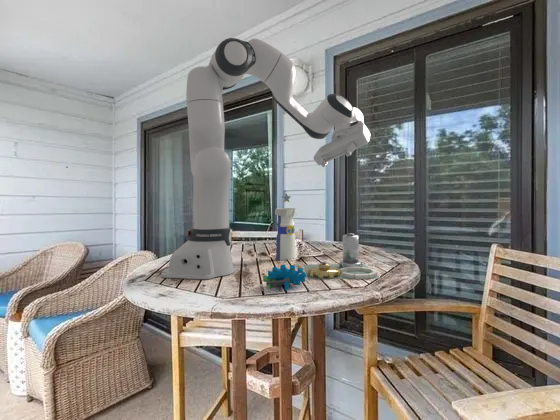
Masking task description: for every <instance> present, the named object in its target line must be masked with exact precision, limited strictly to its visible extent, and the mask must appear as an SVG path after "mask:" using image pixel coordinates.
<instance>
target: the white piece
mask: <svg viewBox="0 0 560 420" xmlns="http://www.w3.org/2000/svg"><path fill="white" fill-rule="evenodd" d="M281 198H283V203H286V202H288V203H290V200H289V199H290V198H292V196H290V195H288V194H287V193H285V195H282V196H281ZM297 214H298V213H297V208H294V207H283V208H282V207H280V208H279V207H277V208H275V210H274V215H276V216H277V223H276V224H275V225H276V226H277V227H276V228H277V229H276V230H277V232H276V233H277V234H276V237H275V238H276V239H275V242H276V244H275V245H276V247H275V248H276V249H275V250H276V251H275V261H277V262H287V261H288V260H290V259H295V258H296V257H297V251H296V249H297V246H296V234H295V225H296V223H295V222H294V218H296V217H297Z"/></svg>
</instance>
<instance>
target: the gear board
mask: <svg viewBox="0 0 560 420" xmlns="http://www.w3.org/2000/svg"><path fill="white" fill-rule="evenodd" d="M319 264H320V263H318V264H303V266H304V270H305V273H306V276H307V277H306V278H307V279H308V280H356V279H355V278H353V279H352V278H347V277H343V276H342V273H341V275H340V277H334V278H323V279H322V278H317V277H310V275H308V274H307V269H309V268H310V267H315V266H319ZM329 264H330V263H329ZM330 267H337V268H338V269H341V268H342V267H339V263H337V264H336V263H334V264H333V263H331V264H330ZM362 267H365V268H369V267H368V266H367V265H366V264H365V263H362ZM345 273H350V274H369V273H370V272H364V271H347V272H345ZM377 279H379V280H381V279H382V278H381V277H380V276H379V275H378V274H377V276H376V277H373V278H369V279H368V280H377Z"/></svg>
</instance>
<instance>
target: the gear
mask: <svg viewBox="0 0 560 420" xmlns="http://www.w3.org/2000/svg"><path fill="white" fill-rule="evenodd" d="M306 278H308V277H307V273H306V271H304V270H303V267H297V270H296V265H295V264H290V265H289V268H287V266H286V264H284V263H283V264H280V266H279V267H277V266H273V267H272V269H271V270H268V271H267V275H266V274H265V275H264V274H263V276H262V282H263V283H266V287H267V289H271V288H272V287H274V286H283V285H284V290H285V291H289V289H290V288H289V287H290V286H289V285H290V284H292V285H301V283H305V282H306Z"/></svg>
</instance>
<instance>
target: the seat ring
mask: <svg viewBox="0 0 560 420" xmlns="http://www.w3.org/2000/svg"><path fill="white" fill-rule="evenodd" d="M347 271H364V272H370V273H369V274H350V273H345V272H347ZM341 273H342V276H343V277H347V278H352V279H351V280H370V279H369V278H373V277H376V276H377V275H378V271H377V270H375V269H374V268H370V267H368V268H365V267H345V268H341ZM353 278H355V279H353Z"/></svg>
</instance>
